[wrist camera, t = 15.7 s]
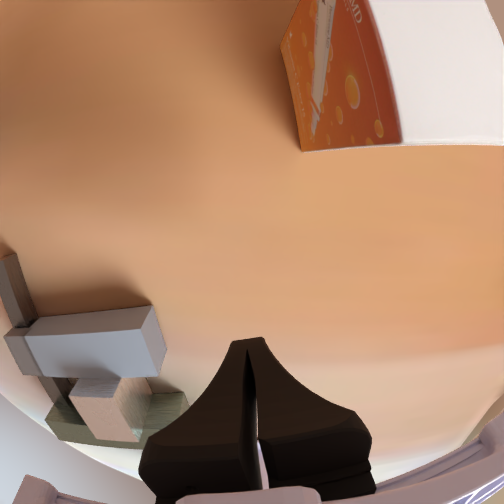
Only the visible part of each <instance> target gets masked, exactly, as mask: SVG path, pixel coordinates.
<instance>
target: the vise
mask: <svg viewBox="0 0 504 504" xmlns="http://www.w3.org/2000/svg"><path fill="white" fill-rule="evenodd" d="M0 296H1V298H2V301H3V304H4V306H5V309H6V311H7V314H8V316H9V319H10V321H11V323H12V326H13V328H30V327H31V326H32V325H33V324H34V323H35V322H36V321H37V320H38V319H39V318H38V315H37V313H36V310H35V308H34V305H33V303H32V300H31V297H30V294H29V292H28V289H27V286H26V283H25V280H24V277H23V274H22V271H21V267H20V264H19V261H18V257H17V254H16V253H15V254H11V255H7V256H4V257H2V258H0ZM38 378H39V380H40V382H41V383H42V385H43V387H44V388H45V390H46V392H47V393H48V395H49V397H50V398H51V400H52V402H53V403H54V405H53V407H52V408H51V410H50V412H49V413H48V415H47V417H46V419H45V421H46V423H47V424H48V425H49V427H50V428H51V429H52V431H53V432H54V433H55V435H56V436H57V437H58V439H59V440H62V441H68V442H74V443H81V444H88V445H96V446H105V447H115V448H128V449H144V446H145V444H146V442H147V439H148V437H149V436H151V435H153V434H155V433H156V432H158V431H159V430H161V429H163V428H164V427H166V426H167V425H169V424H170V423H172V422H173V421H174V420H176V419H177V418H178V417H179V416H181V415H182V414H183V413H184V412H185V411H187V410H188V409H189V408H190V407H189V404H188V402H187V399H186V397H185V394H184V392H180V393H161V394H153V395H152V398H151V402H150V405H149V408H148V412H147V415H146V419H145V422H144V426H143V429H142V433H141V437H140V440H139V442H125V441H111V440H101V439H96V437H95V436H94V434H93V433H92V432H91V430H90V429H89V427H88V426H87V424H86V423H85V421H84V420H83V418H82V417H81V415H80V414H79V412H78V411H77V409H76V408H75V406H74V404H73V403H72V401H71V399H70V398H69V394H70V393H71V391H72V389H73V388H72V386H71V385H70V383H69V381H68V379H67V377H46V376H38Z"/></svg>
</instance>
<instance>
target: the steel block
mask: <svg viewBox="0 0 504 504" xmlns="http://www.w3.org/2000/svg"><path fill="white" fill-rule="evenodd" d="M152 395H153V393H152V391H151V389H150V387H149V384H148V382H147V380H146V377H133V378H79V379H78V381H77V382H76V384H75V386H74V387H73V389H72V391H71V393H70V394H69V398H70V399H71V401H72V403H73V404H74V406H75V408H76V409H77V411H78V412H79V414H80V415H81V417H82V418H83V420H84V421H85V423H86V424H87V426H88V427H89V429H90V430H91V432H92V433H93V434H94V436H95V437H96V439H101V440H111V441H125V442H139V440H140V437H141V433H142V429H143V426H144V422H145V419H146V415H147V412H148V408H149V405H150V402H151V398H152Z"/></svg>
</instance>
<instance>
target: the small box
mask: <svg viewBox="0 0 504 504" xmlns="http://www.w3.org/2000/svg"><path fill="white" fill-rule="evenodd" d="M280 50H281V53H282V57H283V60H284V64H285V68H286V72H287V76H288V81H289V86H290V90H291V95H292V100H293V105H294V110H295V115H296V121H297V127H298V132H299V139H300V145H301V151H302V152H303V153H309V152H320V151H330V150H340V149H352V148H367V147H384V146H416V145H497V146H504V45H503V42H502V39H501V36H500V34H499V31H498V29H497V27H496V25H495V23H494V21H493V18H492V16H491V14H490V11H489V9H488V6H487V4H486V2H485V0H300V1H299V4H298V6H297V8H296V10H295V13H294V15H293V17H292V19H291V21H290V24H289V26H288V28H287V30H286V32H285V35H284V37H283V39H282V42H281V44H280Z"/></svg>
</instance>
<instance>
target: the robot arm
mask: <svg viewBox="0 0 504 504" xmlns="http://www.w3.org/2000/svg"><path fill="white" fill-rule="evenodd" d="M257 414H258V440H257ZM371 445H372V437H371V435H370V433H369V431H368V429H367V427H366V426H365V424H364V423H363V421H362V420H361V419H360V417H359V416H358V415H357V414H356V413H355V411H353V410H350V409H347V408H344V407H341V406H339V405H336V404H334V403H331V402H329V401H327V400H325V399H324V398H322V397H320V396H319V395H317V394H315V393H314V392H312V391H310V390H309V389H308V388H306V387H305V386H304V385H302V384H301V383H300V382H299V381H297V380H296V379H295V378H294V377H293V376H292V375H291V374H290V373H289V372H288V371H287V370H286V369H285V368H284V367H283V366H282V365H281V364H280V363H279V361H278V360H277V359H276V358H275V356H274V355H273V354H272V352H271V351H270V349H269V348H268V346H267V344H266V342H265V339H264V338H263V337H256V338H250V339H243V340H236V341H232V343H231V344H230V347H229V350H228V352H227V354H226V356H225V359H224V361H223V362H222V364H221V366H220V368H219V370H218V372H217V373H216V375H215V376H214V378H213V380H212V381H211V383H210V384H209V386H208V387H207V388H206V390H205V391H204V392H203V393H202V395H201V396H200V397H199V398H198V399H197V400H196V401H195V402H194V403H193V405H192V406H191V407H190V408H189V409H188V410H187V411H185V412H184V413H183V414H182V415H181V416H179V417H178V418H177V419H176V420H174V421H173V422H172V423H170V424H169V425H167V426H166V427H164V428H163V429H161V430H159V431H158V432H156V433H155V434H153V435H151V436H149V437H148V439H147V442H146V444H145V446H144V449H143V452H142V456H141V460H140V464H139V468H138V471H139V475H140V477H141V479H142V480H143V481H144V482H145V484H146V485H147V486H148V487H149V488H150V489H151V491H152V492H153V493H154V494H155V495H156V503H155V504H480V503H482V502H483V501H485V500H486V499H487V498H489V497H490V496H492V495H493V494H494V493H496V492H497V491H498V490H500V489H501V488H502V487H504V411H503V412H502V413H500V414H499V415H497V416H496V417H494V418H493V419H491V420H490V421H489V422H487V423H486V425H484V427H483V428H482V430H481V431H480V434H479V436H478V437H477V438H475V439H474V440H472V441H470V442H469V443H467V444H465V445H463V446H461V447H460V448H458V449H456V450H454V451H452V452H450V453H448V454H446V455H444V456H442V457H440V458H438V459H436V460H434V461H432V462H430V463H428V464H426V465H423V466H421V467H419V468H417V469H414V470H412V471H410V472H407V473H405V474H402V475H400V476H397V477H394V478H392V479H389V480H386V481H383V482H381V483H378V484H375V482H374V479H373V477H372V474H371V472H370V471H371V465H370V463H369V460H368V457H369V453H370V449H371ZM13 504H105V503H100V502H96V501H91V500H86V499H82V498H78V497H74V496H71V495H67V494H63V493H60V492H58V491H57V490H56V489H55V487H54V486H52V485H51V484H50V483H48V482H47V481H45V480H42V479H39V478H36V477H33V476H30V475H25V477H24V479H23V481H22V484H21V486H20V488H19V490H18V492H17V495H16V497H15V499H14V501H13Z"/></svg>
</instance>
